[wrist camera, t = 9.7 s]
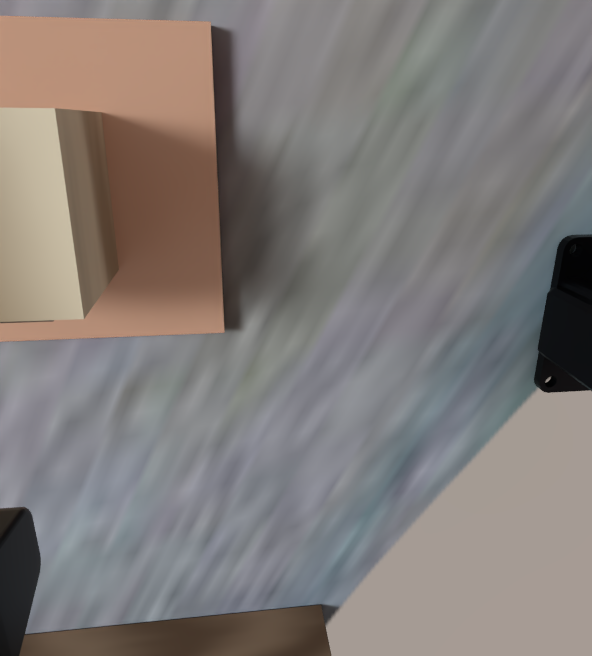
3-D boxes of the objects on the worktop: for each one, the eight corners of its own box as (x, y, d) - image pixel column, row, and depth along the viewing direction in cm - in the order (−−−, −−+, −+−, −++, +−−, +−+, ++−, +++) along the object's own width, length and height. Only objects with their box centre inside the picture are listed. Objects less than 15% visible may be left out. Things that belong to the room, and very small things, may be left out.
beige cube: (101, 111, 17) (54, 108, 12) (119, 278, 19) (85, 330, 14) (-73, 109, 16) (-193, 105, 11) (-36, 282, 18) (-126, 337, 13)
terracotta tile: (210, 25, 17) (210, 21, 16) (224, 326, 20) (224, 332, 20) (-217, 13, 15) (-234, 9, 15) (-123, 340, 19) (-133, 346, 18)
